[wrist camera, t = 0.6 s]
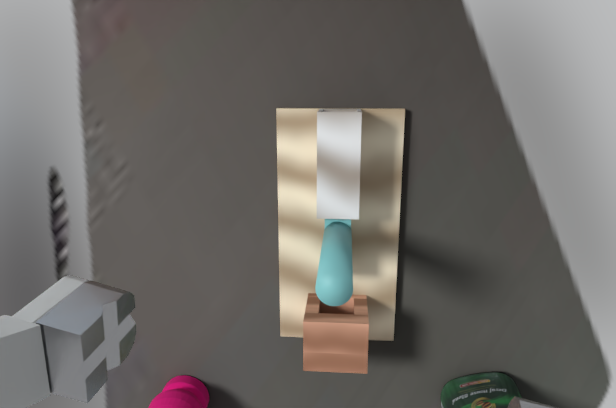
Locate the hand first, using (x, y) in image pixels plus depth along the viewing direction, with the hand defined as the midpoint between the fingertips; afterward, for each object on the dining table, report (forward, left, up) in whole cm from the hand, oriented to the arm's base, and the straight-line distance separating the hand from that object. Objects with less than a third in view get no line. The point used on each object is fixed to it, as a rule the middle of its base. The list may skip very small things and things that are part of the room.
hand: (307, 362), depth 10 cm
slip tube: (+7, 0, -42) cm, 43 cm away
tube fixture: (+11, 0, -45) cm, 46 cm away
